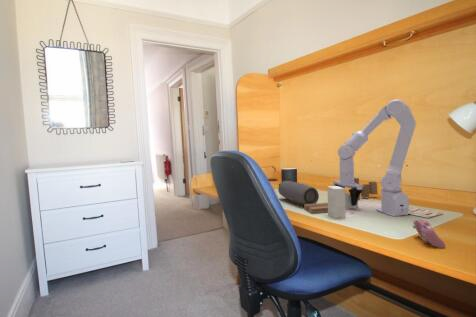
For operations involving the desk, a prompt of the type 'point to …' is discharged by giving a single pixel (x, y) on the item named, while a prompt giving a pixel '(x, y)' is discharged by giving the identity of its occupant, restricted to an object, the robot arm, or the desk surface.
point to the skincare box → (336, 202)
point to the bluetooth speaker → (298, 192)
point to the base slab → (316, 208)
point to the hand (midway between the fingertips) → (347, 203)
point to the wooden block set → (367, 188)
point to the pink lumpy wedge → (428, 233)
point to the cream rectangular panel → (349, 213)
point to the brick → (349, 201)
